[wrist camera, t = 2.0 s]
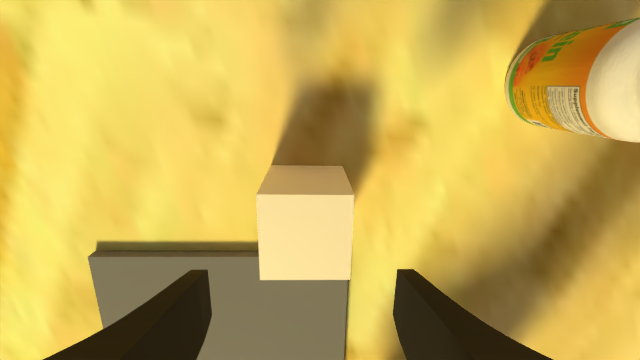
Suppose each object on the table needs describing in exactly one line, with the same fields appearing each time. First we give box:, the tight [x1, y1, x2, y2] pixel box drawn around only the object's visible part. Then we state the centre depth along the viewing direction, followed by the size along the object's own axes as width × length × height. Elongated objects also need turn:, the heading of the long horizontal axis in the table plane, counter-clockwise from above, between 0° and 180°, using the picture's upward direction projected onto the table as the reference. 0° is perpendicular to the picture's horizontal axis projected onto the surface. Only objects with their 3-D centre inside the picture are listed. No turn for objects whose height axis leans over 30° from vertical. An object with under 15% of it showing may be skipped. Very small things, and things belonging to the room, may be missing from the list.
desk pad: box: [88, 251, 348, 360], centre depth 24 cm, size 18×12×1 cm, turn 89°
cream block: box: [256, 165, 354, 280], centre depth 19 cm, size 5×5×6 cm
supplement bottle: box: [505, 18, 640, 142], centre depth 15 cm, size 5×5×10 cm
